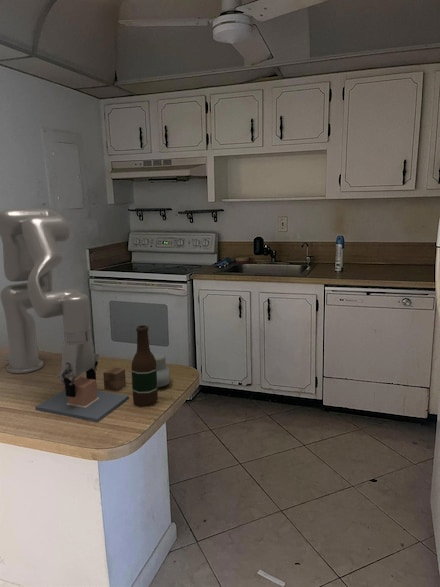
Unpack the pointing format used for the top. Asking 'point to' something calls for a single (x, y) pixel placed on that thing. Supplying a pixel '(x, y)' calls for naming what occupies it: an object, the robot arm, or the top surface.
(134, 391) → the beer bottle
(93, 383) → the terracotta block
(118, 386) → the walnut block
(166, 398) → the top surface
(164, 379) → the air freshener
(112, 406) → the board
